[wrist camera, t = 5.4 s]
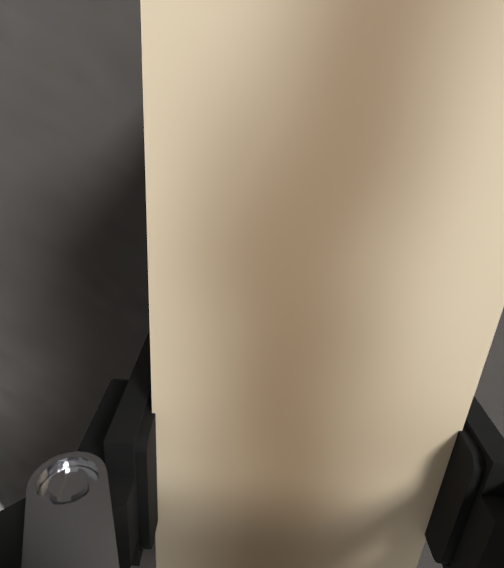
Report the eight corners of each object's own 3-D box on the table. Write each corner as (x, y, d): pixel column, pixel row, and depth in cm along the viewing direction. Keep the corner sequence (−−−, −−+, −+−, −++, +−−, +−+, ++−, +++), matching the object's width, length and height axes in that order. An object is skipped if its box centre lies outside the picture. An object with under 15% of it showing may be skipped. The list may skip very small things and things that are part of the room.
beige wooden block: (515, -63, 8) (651, -137, 5) (343, 619, 16) (362, 729, 13) (176, -91, 8) (134, -183, 5) (176, 612, 16) (160, 721, 13)
